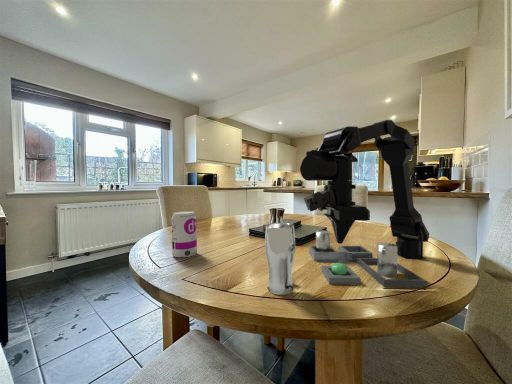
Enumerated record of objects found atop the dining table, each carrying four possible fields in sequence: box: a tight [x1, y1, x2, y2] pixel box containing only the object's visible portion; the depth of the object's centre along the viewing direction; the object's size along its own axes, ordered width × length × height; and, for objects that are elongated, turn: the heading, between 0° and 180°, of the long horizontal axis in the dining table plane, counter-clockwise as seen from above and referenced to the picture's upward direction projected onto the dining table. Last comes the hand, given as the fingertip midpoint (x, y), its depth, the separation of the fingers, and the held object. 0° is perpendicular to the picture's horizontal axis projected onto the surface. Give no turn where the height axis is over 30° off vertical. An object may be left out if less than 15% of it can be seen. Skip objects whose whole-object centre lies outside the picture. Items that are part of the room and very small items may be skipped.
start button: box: [331, 263, 348, 275], centre depth 52 cm, size 4×4×2 cm
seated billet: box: [315, 230, 331, 252], centre depth 67 cm, size 4×4×8 cm
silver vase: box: [264, 222, 296, 296], centre depth 49 cm, size 7×7×15 cm
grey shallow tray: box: [308, 245, 373, 264], centre depth 67 cm, size 17×10×4 cm, turn 87°
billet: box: [376, 242, 398, 279], centre depth 54 cm, size 4×4×8 cm
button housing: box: [321, 265, 361, 285], centre depth 52 cm, size 7×7×2 cm
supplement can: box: [171, 210, 198, 258], centre depth 73 cm, size 8×8×15 cm
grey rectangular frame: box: [356, 257, 427, 291], centre depth 54 cm, size 9×14×2 cm, turn 177°
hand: (339, 243), depth 52 cm, fingers closed
